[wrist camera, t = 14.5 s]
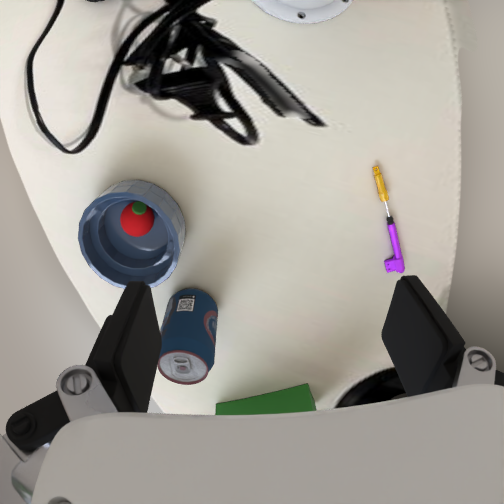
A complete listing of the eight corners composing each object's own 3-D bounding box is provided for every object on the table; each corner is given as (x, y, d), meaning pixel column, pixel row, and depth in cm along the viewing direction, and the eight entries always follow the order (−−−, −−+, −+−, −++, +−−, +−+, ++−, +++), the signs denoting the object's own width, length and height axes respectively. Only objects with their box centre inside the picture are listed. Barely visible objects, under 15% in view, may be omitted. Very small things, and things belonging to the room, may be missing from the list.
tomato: (119, 215, 36) (121, 192, 33) (150, 215, 38) (156, 193, 35) (119, 243, 35) (121, 221, 31) (152, 243, 36) (158, 222, 33)
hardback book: (230, 422, 59) (230, 528, 38) (216, 404, 56) (212, 520, 35) (314, 403, 57) (335, 513, 36) (307, 383, 53) (330, 505, 32)
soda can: (220, 322, 46) (216, 388, 35) (173, 323, 46) (159, 387, 35) (216, 283, 42) (209, 348, 32) (165, 284, 42) (145, 347, 32)
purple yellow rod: (404, 268, 42) (379, 163, 35) (406, 273, 41) (380, 167, 34) (387, 273, 43) (358, 170, 36) (388, 278, 42) (359, 173, 35)
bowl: (87, 182, 35) (69, 196, 30) (182, 176, 35) (173, 189, 31) (104, 268, 41) (91, 289, 36) (190, 268, 41) (184, 290, 37)
